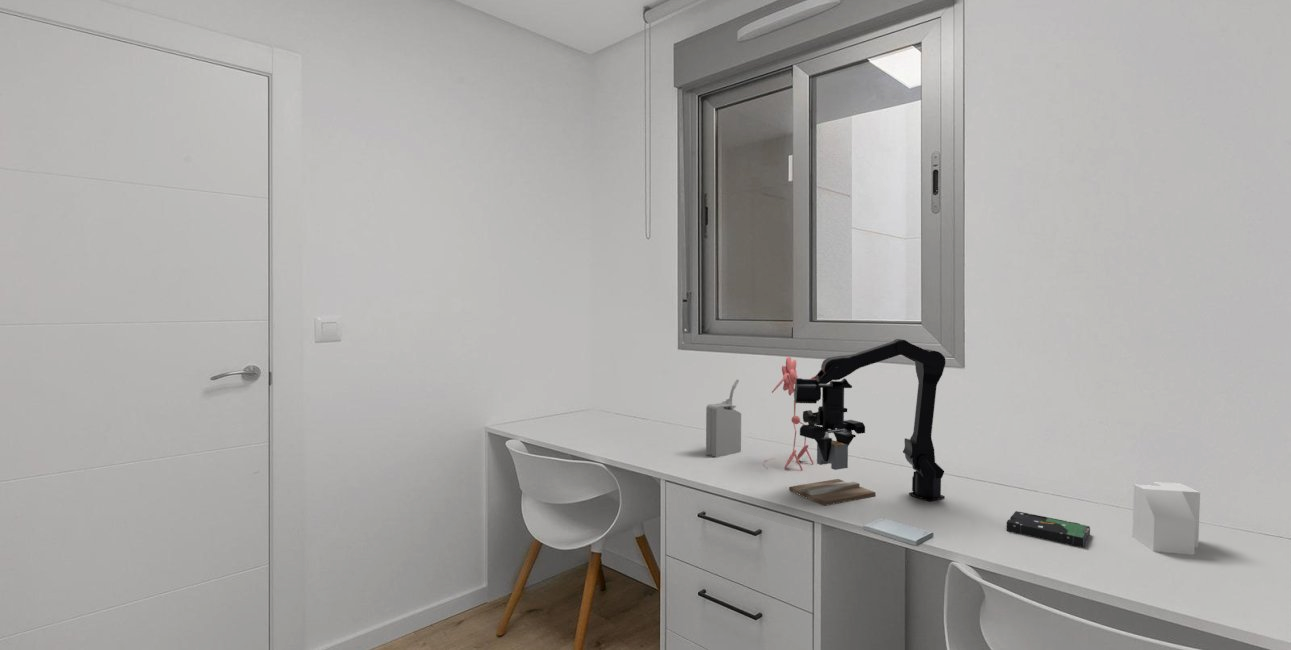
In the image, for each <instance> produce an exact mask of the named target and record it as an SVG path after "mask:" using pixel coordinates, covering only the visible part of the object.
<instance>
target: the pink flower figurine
mask: <svg viewBox="0 0 1291 650" xmlns="http://www.w3.org/2000/svg"><path fill="white" fill-rule="evenodd" d="M796 368H797V360H796V359H792V357H791V356H788V357H786V358H785V365H781V372H782V378H781V379H780V381H779V382H778V384H777V385H776V386H775V387H774V389H773V390H772V391H771V393H772V394H773V393H774V392H775V391H776V390H777V389H778V387H780V386H781V384H783V387H782V389H783V391H784V392H786V391H787V390H788V392H787V393H788V396H792V394H794V389H795V383H796V378H798V374H797V370H796ZM815 376H816V375H814V376H812V377H811V378H810V379H814V378H815ZM796 405H797V403H795V401H794V400H793V416H792V417H791V423H792V424H793V428H794V429H793V430H794V438H793V440H794V441H793V447H792V448H793V449H792V453H791V454H790V456H789V457H788V459H787V461H786V464H785V466H784V469H786V468H787V467H788V466H789V465H790V464H791V462H792V461H793V459H794V457H795V459H796V461H797V464H798V466H799V469H800V470H801V471H803V466H802V464H801V462H800V459H801V457H803V455H804V454H805V453H806V454H807V456H808V459H809V460H810V462H811V465H813V464H815V463H814V461H813V459H812V457H811V454H810V452H809V450H808V449H809V444H807V443H806V441H807V440H806V439H807V437H804V444H803V445H804V446H802V448H801V450H800V451H799V453H798V454H796V453H797V450H796V449H795V446H796V439H797V438H796V437H797V429H796V425H798V424H802V425H806V423H803V422H801V418H800V416H798V415H796ZM774 458H775V457H774ZM774 458H769V459H767V460H764V463H765V462H768V461H770V460H773V459H774ZM764 463H762V465H763V466H765V465H764ZM766 469H767V470H768V467H766Z"/></svg>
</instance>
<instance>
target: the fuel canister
mask: <svg viewBox="0 0 1291 650" xmlns="http://www.w3.org/2000/svg"><path fill="white" fill-rule="evenodd" d="M739 382H740V380H739V379H735V382H734V383H733V385H732V386H731V390H730V393H729V397H728V399H726V400H724V401H721V402H718V403H711V404H707V405H706V409H705V410H706V411H705V412H706V415H705V416H706V417H705V419H706V421H705V428H706V429H705V455H706V456H711V457H715V458H720V457H725V456H728V455H729V456H730V455H732V454H733V455H734V454H737V453H741V452H742V413H741V412H740V411H737V410H736V409H735V408H736V407H737V406H736V405H733V397H734V396H733V395H734V391H735V389H736V388H737V385H738V384H739Z"/></svg>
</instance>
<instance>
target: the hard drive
mask: <svg viewBox="0 0 1291 650" xmlns="http://www.w3.org/2000/svg"><path fill="white" fill-rule="evenodd" d="M862 529H863V530H864V531H867V532H871V533H874V534H877V535H880V536H884V537H886V538H890V539H893V540H895V541H896V540H897V541H899V542H902V543H906V544H908V545H912V546H916V547H917V546H918V545H920V544H922V543H924V542H926V541H927V540H929V539H932V538H934V532H932V531H928V530H924V529H921V528H918V527H914V526H911V525H907V524H904V523H901V522H897V521H895V520H890V519H887V518H884V517H880V518H876V519H875V520H872V521H870V522H868V523H866V524H863V528H862Z"/></svg>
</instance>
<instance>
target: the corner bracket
mask: <svg viewBox="0 0 1291 650" xmlns="http://www.w3.org/2000/svg"><path fill="white" fill-rule="evenodd" d="M1132 502H1133V507H1132V508H1133V509H1132V510H1133V511H1132V535H1131V536H1132V537H1131V538H1133V539H1134V538H1135V539H1134V540H1136V541H1137V540H1138V541H1137V542H1139V543H1140V542H1141V543H1140V544H1141V545H1143V544H1144V545H1143V546H1144V547H1146V548H1147V547H1148V548H1147V549H1149V550H1151V551H1152V552H1154V553H1155V552H1158V553H1169V554H1170V553H1171V554H1180V555H1195V548H1199V535H1200V511H1201V509H1200V507H1201V492H1200V491H1198V490H1195V488H1192V487H1190V486H1187V485H1185V484H1183V483H1178V482H1164V481H1162V482H1161V481H1153V482H1152V485H1147V484H1133V501H1132Z"/></svg>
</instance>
